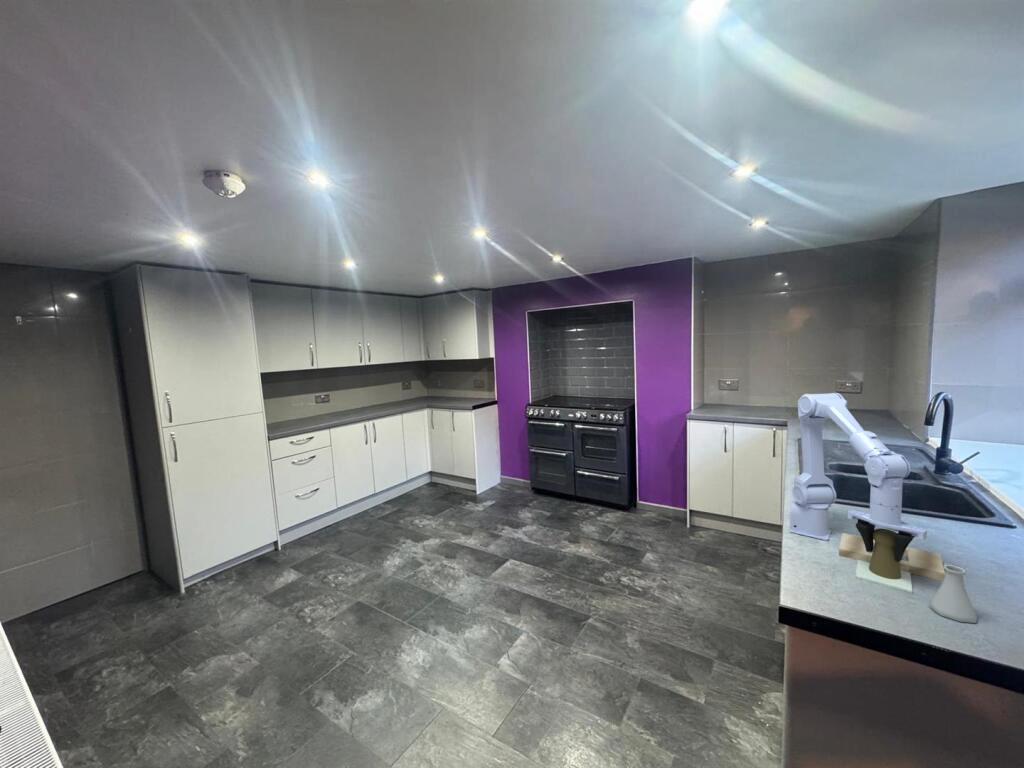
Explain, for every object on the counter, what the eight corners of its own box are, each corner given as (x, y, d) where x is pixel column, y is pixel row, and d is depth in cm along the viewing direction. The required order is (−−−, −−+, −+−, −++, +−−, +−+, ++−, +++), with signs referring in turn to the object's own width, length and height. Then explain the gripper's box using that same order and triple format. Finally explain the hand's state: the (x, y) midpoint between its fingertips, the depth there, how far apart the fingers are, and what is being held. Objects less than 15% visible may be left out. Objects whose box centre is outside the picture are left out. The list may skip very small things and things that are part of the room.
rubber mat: (855, 577, 100) (855, 576, 100) (857, 561, 107) (857, 559, 107) (912, 593, 93) (912, 591, 93) (910, 574, 100) (910, 572, 100)
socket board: (838, 555, 111) (839, 548, 110) (842, 539, 119) (842, 533, 119) (944, 581, 97) (945, 573, 97) (939, 561, 106) (940, 554, 106)
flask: (985, 628, 81) (987, 581, 80) (935, 617, 85) (937, 572, 84) (969, 608, 87) (971, 564, 86) (923, 598, 91) (925, 556, 90)
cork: (904, 582, 97) (906, 538, 96) (871, 574, 100) (872, 532, 99) (898, 570, 102) (900, 528, 101) (866, 563, 105) (868, 523, 104)
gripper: (932, 508, 94) (930, 563, 95) (856, 491, 107) (855, 540, 108) (921, 515, 91) (918, 572, 92) (844, 496, 103) (842, 546, 105)
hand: (883, 555), depth 100 cm, fingers closed on cork, 5 cm apart
